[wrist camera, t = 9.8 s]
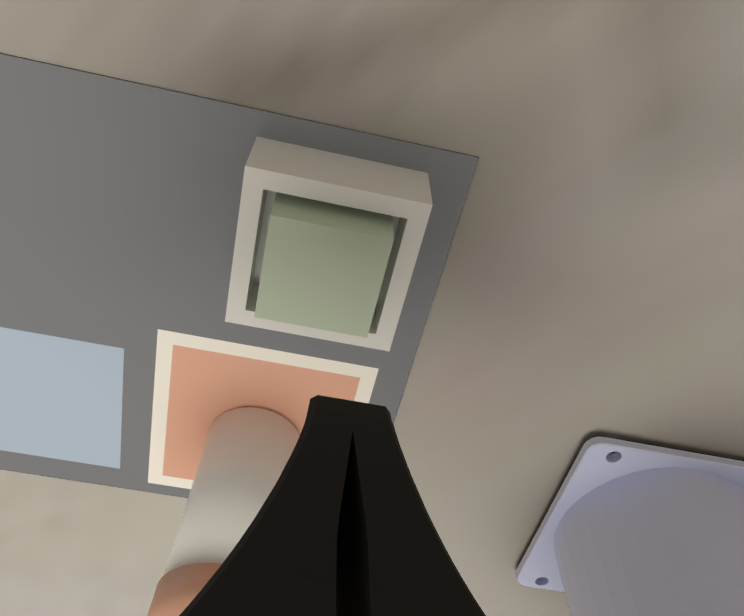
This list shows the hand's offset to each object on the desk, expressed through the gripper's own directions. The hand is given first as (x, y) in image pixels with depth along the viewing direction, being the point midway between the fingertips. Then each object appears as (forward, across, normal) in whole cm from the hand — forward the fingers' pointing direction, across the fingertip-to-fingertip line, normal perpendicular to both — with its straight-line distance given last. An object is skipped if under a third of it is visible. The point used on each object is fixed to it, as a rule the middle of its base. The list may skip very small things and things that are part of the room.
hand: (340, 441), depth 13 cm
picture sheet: (+8, +5, +5) cm, 11 cm away
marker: (+8, +2, +9) cm, 12 cm away
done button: (+8, +1, 0) cm, 8 cm away
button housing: (+8, +1, 0) cm, 9 cm away
